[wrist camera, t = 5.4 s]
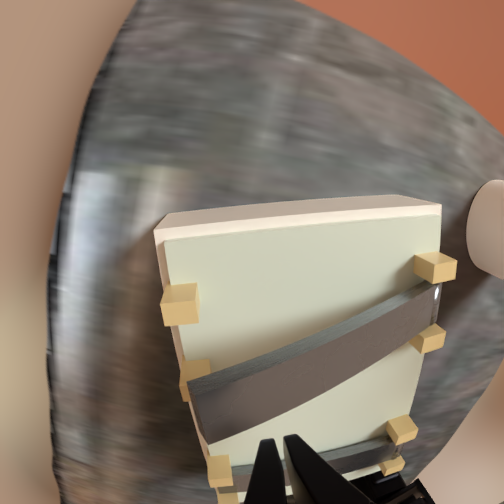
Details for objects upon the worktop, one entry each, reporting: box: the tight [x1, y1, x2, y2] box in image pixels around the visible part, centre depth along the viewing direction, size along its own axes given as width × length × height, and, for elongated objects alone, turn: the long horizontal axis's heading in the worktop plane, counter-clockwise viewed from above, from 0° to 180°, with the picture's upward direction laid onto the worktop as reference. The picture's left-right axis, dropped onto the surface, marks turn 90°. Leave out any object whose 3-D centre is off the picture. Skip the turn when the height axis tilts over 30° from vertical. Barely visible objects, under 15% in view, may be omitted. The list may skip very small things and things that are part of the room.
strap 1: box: [186, 279, 442, 445], centre depth 12 cm, size 14×2×1 cm, turn 95°
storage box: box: [154, 194, 457, 504], centre depth 19 cm, size 22×15×8 cm
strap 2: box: [217, 435, 405, 494], centre depth 18 cm, size 14×2×1 cm, turn 95°
